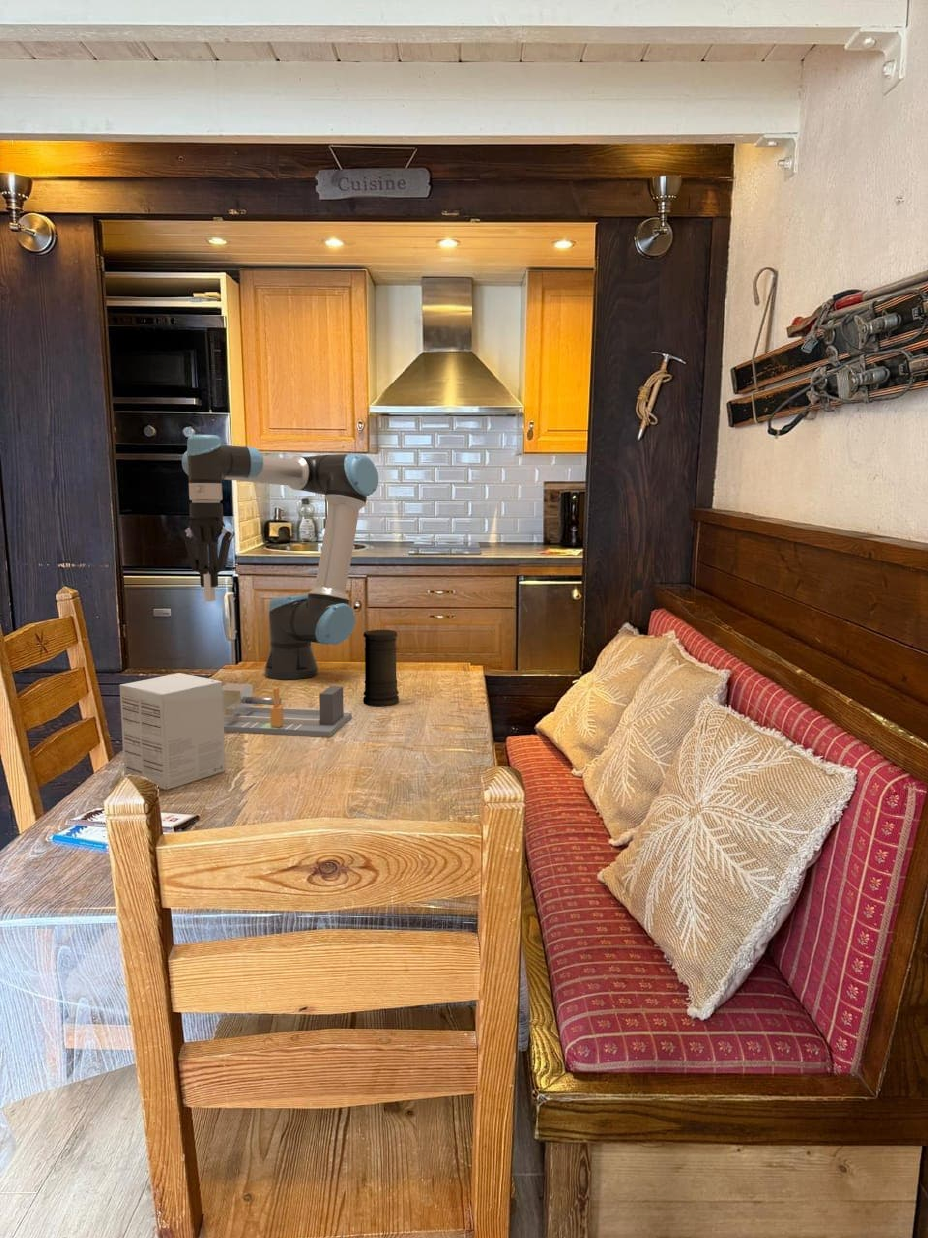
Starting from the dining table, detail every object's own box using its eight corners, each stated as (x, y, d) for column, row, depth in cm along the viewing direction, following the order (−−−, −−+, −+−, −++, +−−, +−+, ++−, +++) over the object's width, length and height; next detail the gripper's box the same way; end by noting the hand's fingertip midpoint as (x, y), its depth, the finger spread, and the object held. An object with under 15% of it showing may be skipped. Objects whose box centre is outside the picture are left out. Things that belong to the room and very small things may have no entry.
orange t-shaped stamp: (274, 723, 185) (273, 686, 184) (283, 724, 185) (282, 686, 183) (270, 726, 182) (269, 688, 181) (279, 726, 182) (278, 689, 181)
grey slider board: (222, 712, 200) (221, 678, 199) (351, 718, 195) (351, 683, 194) (191, 730, 185) (189, 694, 183) (330, 737, 180) (329, 700, 179)
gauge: (229, 710, 196) (228, 683, 195) (286, 712, 194) (285, 685, 193) (207, 723, 185) (205, 694, 184) (267, 726, 183) (266, 697, 182)
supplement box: (183, 758, 165) (179, 671, 162) (227, 771, 157) (223, 680, 155) (122, 776, 154) (117, 684, 151) (166, 791, 147) (161, 694, 144)
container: (401, 698, 215) (401, 629, 212) (395, 707, 206) (395, 635, 203) (367, 697, 216) (366, 628, 213) (359, 706, 207) (358, 634, 204)
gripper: (172, 501, 195) (177, 601, 198) (225, 501, 193) (228, 603, 196) (187, 501, 202) (192, 598, 206) (238, 501, 200) (242, 599, 204)
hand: (210, 600), depth 201 cm, fingers closed
